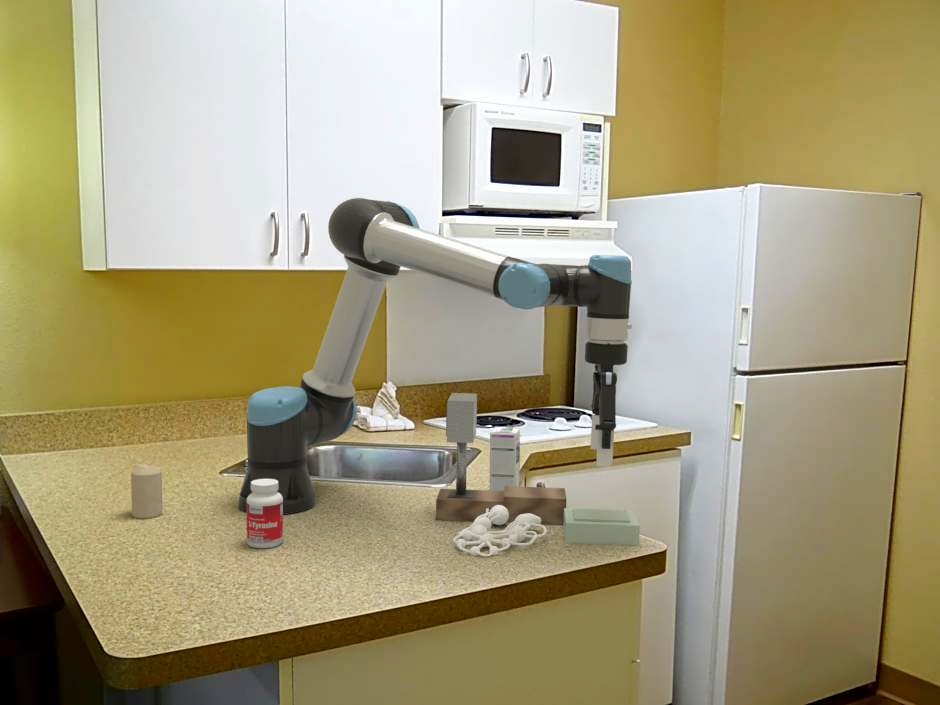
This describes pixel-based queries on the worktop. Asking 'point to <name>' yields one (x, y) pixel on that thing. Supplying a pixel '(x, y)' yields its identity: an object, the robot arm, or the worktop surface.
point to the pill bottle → (264, 514)
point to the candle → (146, 491)
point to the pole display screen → (461, 431)
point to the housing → (503, 503)
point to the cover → (601, 526)
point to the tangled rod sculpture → (498, 517)
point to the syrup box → (504, 458)
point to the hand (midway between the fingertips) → (600, 457)
